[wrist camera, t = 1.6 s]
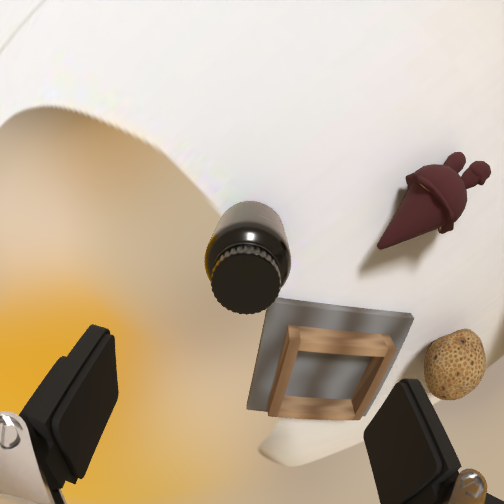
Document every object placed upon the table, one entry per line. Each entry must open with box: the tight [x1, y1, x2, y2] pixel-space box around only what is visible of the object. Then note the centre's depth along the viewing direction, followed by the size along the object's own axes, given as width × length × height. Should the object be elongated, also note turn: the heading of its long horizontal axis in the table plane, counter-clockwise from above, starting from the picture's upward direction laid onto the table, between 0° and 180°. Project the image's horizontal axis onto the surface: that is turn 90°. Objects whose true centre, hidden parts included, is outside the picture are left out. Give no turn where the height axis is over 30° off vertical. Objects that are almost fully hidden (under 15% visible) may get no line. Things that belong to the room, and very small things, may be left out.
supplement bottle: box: [205, 201, 291, 314], centre depth 27 cm, size 7×7×12 cm
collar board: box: [247, 298, 414, 420], centre depth 36 cm, size 18×18×4 cm
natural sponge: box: [424, 329, 486, 400], centre depth 32 cm, size 9×9×10 cm
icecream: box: [377, 152, 491, 250], centre depth 27 cm, size 7×7×15 cm
